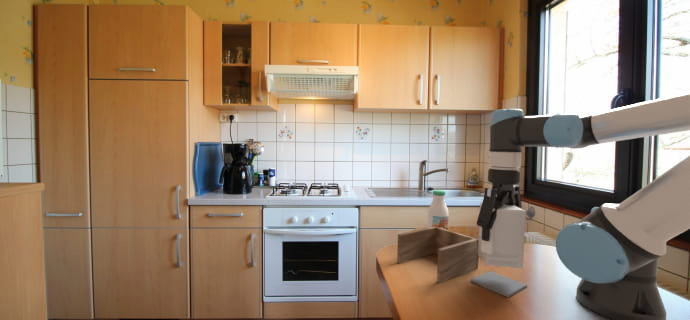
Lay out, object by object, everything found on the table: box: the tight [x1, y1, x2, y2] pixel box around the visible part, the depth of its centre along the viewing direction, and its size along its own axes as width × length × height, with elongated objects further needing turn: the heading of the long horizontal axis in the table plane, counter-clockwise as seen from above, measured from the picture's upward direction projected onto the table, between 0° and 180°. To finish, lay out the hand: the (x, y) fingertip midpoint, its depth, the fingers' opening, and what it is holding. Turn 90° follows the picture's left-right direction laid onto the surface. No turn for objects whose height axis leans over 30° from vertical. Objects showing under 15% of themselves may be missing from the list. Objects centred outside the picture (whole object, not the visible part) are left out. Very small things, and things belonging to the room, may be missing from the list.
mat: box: [470, 270, 528, 298], centre depth 78 cm, size 10×10×1 cm
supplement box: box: [478, 202, 527, 269], centre depth 78 cm, size 9×9×15 cm
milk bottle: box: [426, 189, 450, 230], centre depth 112 cm, size 8×8×20 cm
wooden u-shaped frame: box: [396, 226, 480, 284], centre depth 90 cm, size 16×18×9 cm
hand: (499, 248), depth 78 cm, fingers closed on supplement box, 12 cm apart
